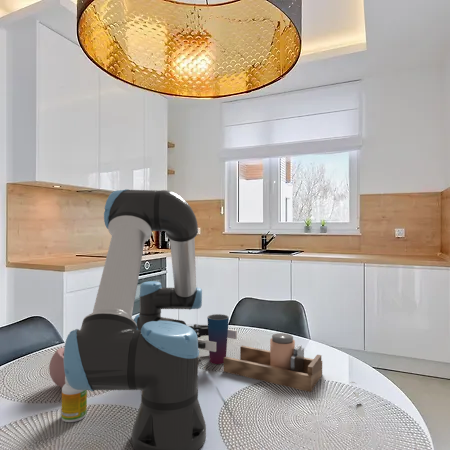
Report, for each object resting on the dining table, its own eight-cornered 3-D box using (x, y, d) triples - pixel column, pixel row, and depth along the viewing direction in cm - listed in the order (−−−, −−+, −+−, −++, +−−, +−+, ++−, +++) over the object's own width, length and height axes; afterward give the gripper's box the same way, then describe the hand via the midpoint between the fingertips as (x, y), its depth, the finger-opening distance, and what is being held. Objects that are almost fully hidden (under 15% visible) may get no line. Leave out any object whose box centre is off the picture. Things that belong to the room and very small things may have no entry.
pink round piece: (99, 391, 94) (99, 348, 94) (48, 401, 88) (49, 355, 88) (94, 374, 105) (94, 335, 105) (49, 382, 99) (49, 341, 99)
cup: (218, 370, 108) (218, 321, 108) (202, 364, 113) (202, 316, 113) (232, 363, 113) (233, 316, 113) (217, 358, 118) (217, 313, 118)
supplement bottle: (83, 422, 80) (84, 379, 80) (58, 424, 79) (58, 380, 79) (88, 409, 85) (89, 369, 85) (65, 411, 84) (65, 370, 84)
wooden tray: (223, 374, 105) (223, 351, 105) (241, 360, 116) (242, 339, 116) (310, 395, 93) (311, 368, 93) (322, 377, 104) (322, 353, 104)
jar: (298, 378, 101) (299, 339, 100) (276, 381, 99) (276, 341, 99) (287, 369, 107) (288, 331, 107) (266, 371, 105) (266, 333, 105)
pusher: (290, 383, 97) (290, 351, 97) (300, 371, 105) (300, 342, 105) (294, 384, 96) (294, 352, 96) (303, 371, 105) (304, 342, 104)
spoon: (360, 388, 98) (360, 382, 98) (375, 430, 78) (375, 422, 78) (344, 386, 99) (345, 380, 99) (355, 427, 79) (355, 420, 79)
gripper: (192, 331, 133) (243, 341, 123) (147, 352, 111) (205, 366, 101) (192, 311, 133) (243, 319, 123) (147, 328, 111) (205, 339, 101)
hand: (226, 340), depth 112 cm, fingers open, 13 cm apart
